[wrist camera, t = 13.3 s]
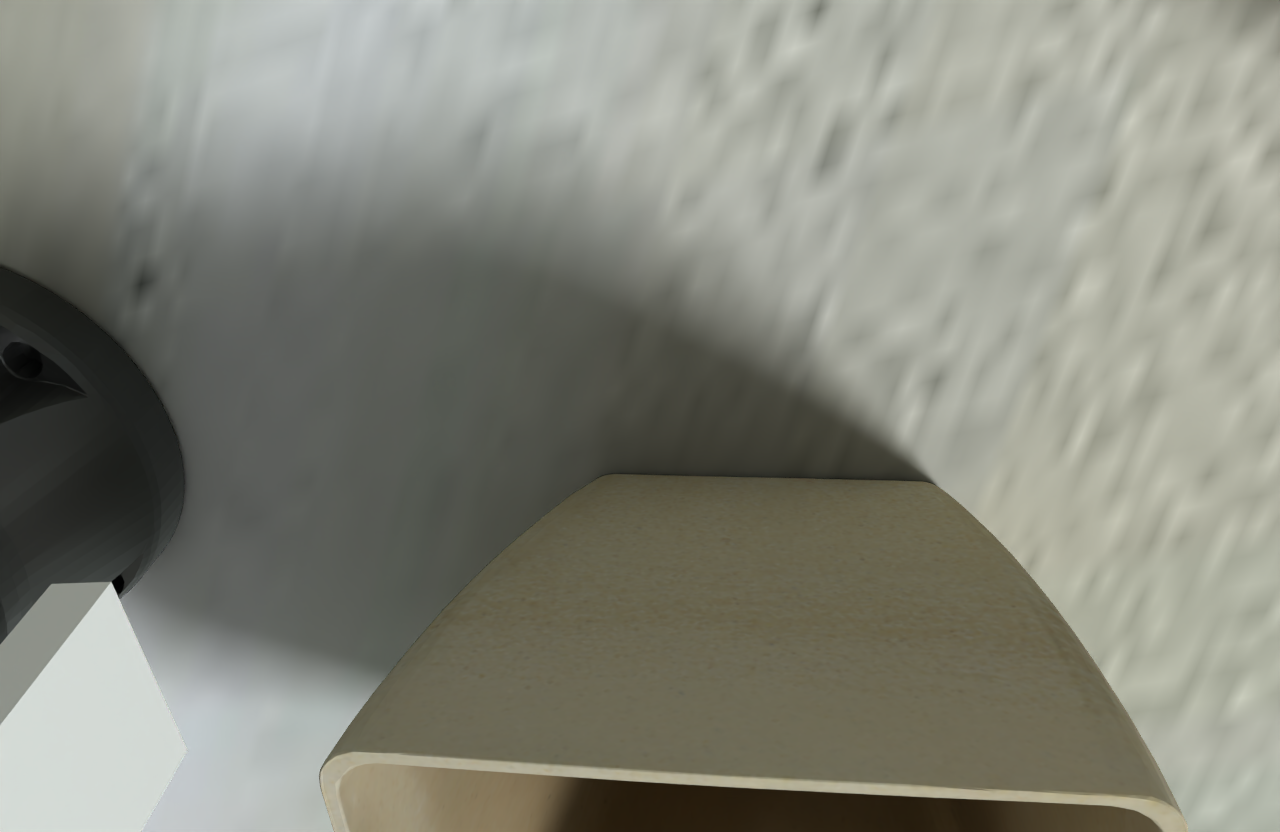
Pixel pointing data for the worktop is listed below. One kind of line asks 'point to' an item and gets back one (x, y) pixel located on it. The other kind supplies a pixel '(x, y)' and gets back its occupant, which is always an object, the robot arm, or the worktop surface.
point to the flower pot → (748, 678)
